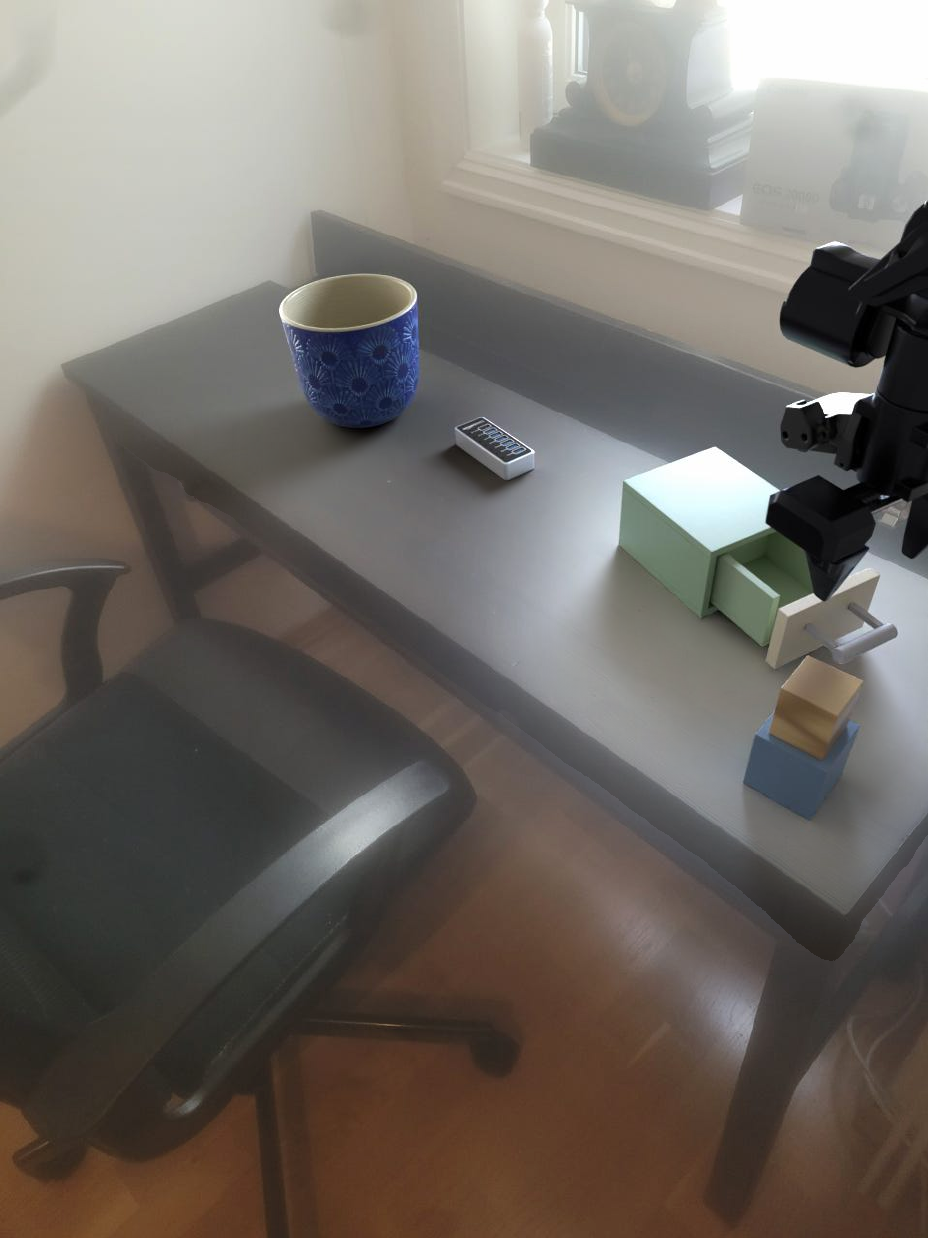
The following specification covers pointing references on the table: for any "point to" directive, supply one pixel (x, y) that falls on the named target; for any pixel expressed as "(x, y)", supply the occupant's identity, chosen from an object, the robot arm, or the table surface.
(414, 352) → the planter
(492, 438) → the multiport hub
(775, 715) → the block
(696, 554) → the cabinet
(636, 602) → the table surface
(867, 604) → the drawer
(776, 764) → the block
